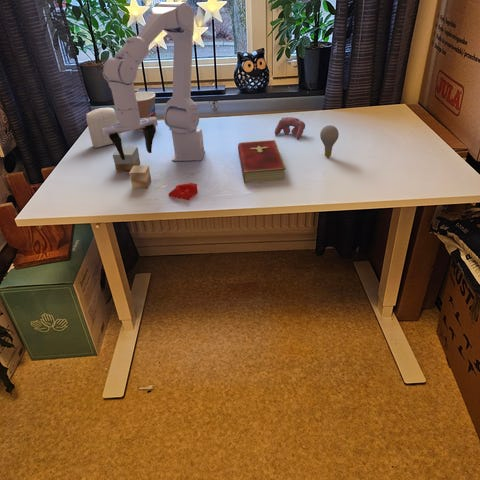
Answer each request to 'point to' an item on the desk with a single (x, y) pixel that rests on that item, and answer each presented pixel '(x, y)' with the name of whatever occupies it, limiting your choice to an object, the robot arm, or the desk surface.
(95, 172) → the desk surface
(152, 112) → the coffee cup
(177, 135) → the robot arm
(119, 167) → the walnut base block
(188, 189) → the bracket
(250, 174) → the hardcover book
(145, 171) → the birch block
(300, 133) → the brown arched piece
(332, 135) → the light bulb
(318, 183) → the desk surface
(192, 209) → the desk surface
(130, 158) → the slate-grey top block
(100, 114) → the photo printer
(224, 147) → the desk surface
